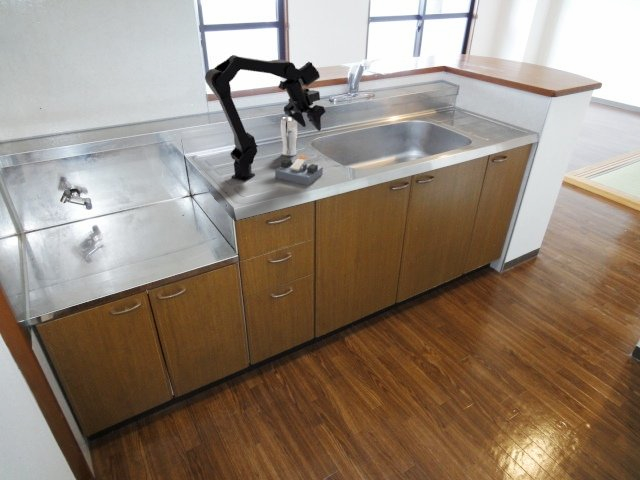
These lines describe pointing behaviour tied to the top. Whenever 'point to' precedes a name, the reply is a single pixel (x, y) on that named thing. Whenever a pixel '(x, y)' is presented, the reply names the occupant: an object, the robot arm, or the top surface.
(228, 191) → the top surface
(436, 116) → the top surface
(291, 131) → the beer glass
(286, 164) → the plug left
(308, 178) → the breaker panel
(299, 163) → the breaker paddle
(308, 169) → the plug right
